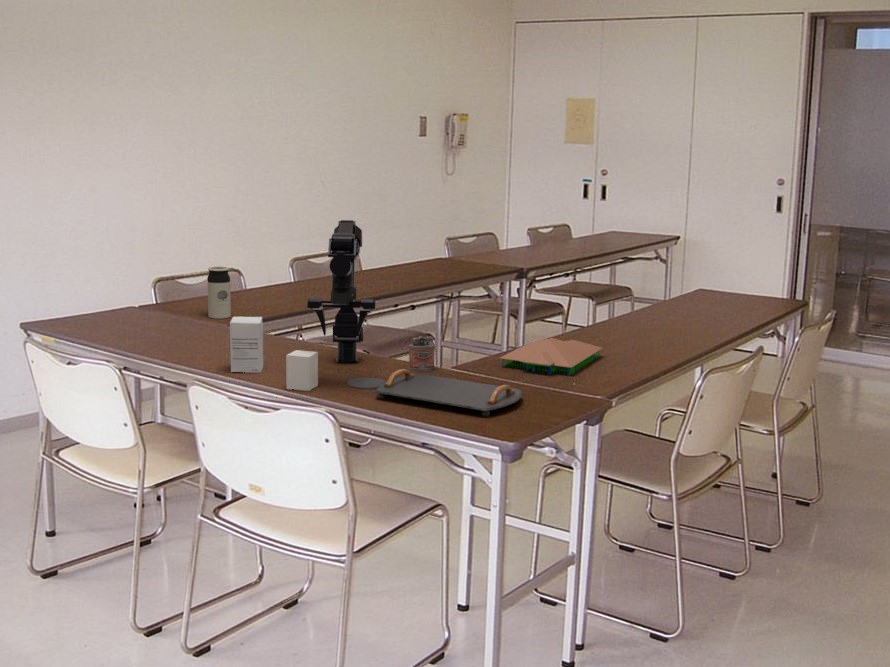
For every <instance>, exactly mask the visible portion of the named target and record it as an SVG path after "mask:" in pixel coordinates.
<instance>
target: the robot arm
mask: <svg viewBox="0 0 890 667" xmlns="http://www.w3.org/2000/svg"><path fill="white" fill-rule="evenodd" d="M337 224H338V225H337V226H336V227H335V228H333V233H332V235H331V237H330V238H329V240H328V247H327V250H328V251H327V258H332V259H331V260H330V263H329V269H330V272H331V277H332V278H331V290H330V300H324V299H323V298H315V297H314V298H311V297H310V298H308V299H307V305H306V306H307V309H308V310H311V312H312V313H315V314H316V315H317V317H318V320H319V323H320V327H321V330H322V333H323V336H326V334H327V333H326V332H327V327H326V318H325V316H326V315H325V310H323V309H324V308H335V309H336V308H337V309H338V308H339V310H338V312H336V315H335V316H334V322H332V342H333V343H337V356H335V360H336V363H338V364H344V363H346V364H347V363H348V364H350V363H359V362H360V361H359V359H358V356H357V346H358V345H357V344H358V343H361V342H364V327H363V324H364V322H365V320H366V317H367V316H368V314H372V311H376V310H377V307H376V306H377V303H376V301H375V299H372V298H370V299H366V298H364V299H361V300H360V301H356V300H357V287H356V286H355V267H356V266H355V261H356V260H357V258H358V257H359V255H360V254H361V248H362V247H363V231H362V228H360V227H359V226H358V225H357V224H356V221H355V220H350V219H347V220H346V219H344V220H343V219H340V220H338V223H337ZM355 309H360V310H359V315H358V314H357V311H355Z"/></svg>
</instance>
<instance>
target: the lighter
mask: <svg viewBox="0 0 890 667" xmlns="http://www.w3.org/2000/svg"><path fill="white" fill-rule="evenodd" d="M425 342H426V343H425ZM430 342H434V337H433V336H425V337H423V336H422V335H420V336H418V337H412V343H413V344H412V343H411V344H409V345H408V353H409V354H408V369H407V370H408V371H409V372H428V371H435V369H436V366H435V363H436V362H435V360H436V359H435V353H436V352H435V351H436V344H434V343H430Z"/></svg>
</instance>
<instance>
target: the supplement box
mask: <svg viewBox="0 0 890 667" xmlns="http://www.w3.org/2000/svg"><path fill="white" fill-rule="evenodd" d="M263 326H264V325H263V316H232V318H231V320H230V322H229V342H230V343H229V344H230V349H229V350H230V373H231V372H243V373H244V372H245V373H246V374H247V373H253V374H255V373H258V374H259V373H262V372H263V368H264V336H263V334H264V332H263V331H264V328H263ZM243 373H242V374H243Z"/></svg>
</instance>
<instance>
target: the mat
mask: <svg viewBox="0 0 890 667" xmlns="http://www.w3.org/2000/svg"><path fill="white" fill-rule="evenodd" d="M385 381H386V380H384V379H383V378H377V377H356V378H355V377H354V378H351V379H349V380H347V382H346V385H347V386H348V387H350V388H353V389H360V390H363V389H364V390H365V389H366V390H371V389H372V390H373V389H377V388H378V386H379V385H381V384H382V383H383V382H385Z"/></svg>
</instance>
